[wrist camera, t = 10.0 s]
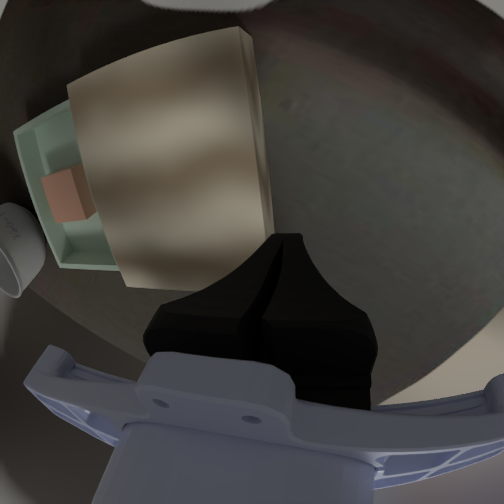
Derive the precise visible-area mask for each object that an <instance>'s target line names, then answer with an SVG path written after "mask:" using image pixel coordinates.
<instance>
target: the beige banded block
mask: <svg viewBox="0 0 504 504" xmlns="http://www.w3.org/2000/svg"><path fill="white" fill-rule="evenodd" d="M67 90H68V96H69V102H70V108H71V113H72V118H73V123H74V128H75V132H76V137H77V141H78V145H79V149H80V153H81V157H82V161H83V165H84V168H85V172H86V176H87V179H88V183H89V186H90V189H91V192H92V196H93V199H94V202H95V205H96V208H97V211H98V214H99V217H100V220H101V223H102V226H103V228H104V231H105V234H106V237H107V239H108V242H109V245H110V247H111V250H112V252H113V255H114V257H115V260H116V262H117V265H118V267H119V270H120V272H121V274H122V277H123V279H124V281H125V284H126V286H127V287H138V288H153V289H168V290H185V291H200V290H202V289H204V288H206V287H208V286H210V285H211V284H213V283H215V282H217V281H218V280H220V279H222V278H223V277H225V276H226V275H228V274H229V273H231V272H232V271H234V270H235V269H236V268H237V267H239V266H240V265H241V264H242V263H243V262H244V261H246V260H247V259H248V258H249V257H250V256H251V255H252V254H253V253H254V252H255V251H256V250H257V249H258V248H259V247H260V246H261V245H262V244H263V243H264V242H265V240H266V239H267V238H268V237H269V236H270V235H271V234H275V229H274V218H273V208H272V198H271V188H270V179H269V169H268V160H267V151H266V142H265V133H264V125H263V117H262V108H261V100H260V92H259V84H258V77H257V69H256V62H255V55H254V47H253V40H252V37H251V36H250V35H249V34H247V33H246V32H245V31H244V30H243V29H241V28H240V27H239V26H236V27H230V28H225V29H220V30H215V31H210V32H206V33H201V34H197V35H193V36H189V37H186V38H182V39H178V40H175V41H171V42H168V43H165V44H162V45H159V46H156V47H153V48H150V49H147V50H144V51H141V52H138V53H136V54H133V55H130V56H128V57H125V58H123V59H120V60H118V61H116V62H113V63H111V64H109V65H106V66H104V67H102V68H100V69H97V70H95V71H93V72H91V73H89V74H87V75H85V76H83V77H81V78H79V79H77V80H75V81H73V82H71V83H70V84H68V85H67Z"/></svg>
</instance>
